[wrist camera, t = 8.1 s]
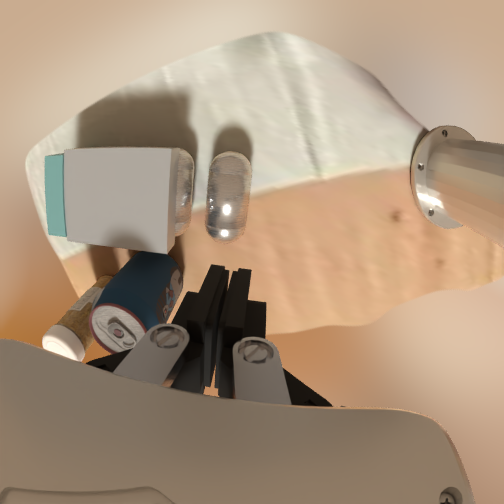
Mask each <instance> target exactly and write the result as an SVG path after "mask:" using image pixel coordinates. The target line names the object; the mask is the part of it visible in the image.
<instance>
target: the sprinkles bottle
mask: <svg viewBox="0 0 504 504" xmlns="http://www.w3.org/2000/svg"><path fill="white" fill-rule="evenodd" d="M112 278H113V277H112V276H108V275H105V276H102V277H100V278H99V279H98V280H97V282H96V283H95V284H94V285H93V286H92V287H91V288H90V289H88V290H87V291H86V292H85V293H84V294H83V296H82V297H81V298H80V299H79V300H78V301H77V302H76V303H75V304H74V305H73V306H72V307H71V308H70V309H69V310H68V311H67V313H66V314H65V315H64V316H63V317H62V319H61V320H60V321H59V322H58V323H57V324H55V325H54V326H52V327H51V328H50V329H49V330H48V331H47V332H46V334H45V335H44V336H43V339H42V344H43V348H44V349H46V350H49V351H51V352H54V353H57V354H60V355H62V356H65V357H68V358H70V359H73V360H76V361H80V362H81V361H82V360H83V358H84V356H85V353H86V351H87V349H88V348H89V346H90V345H91V344H92V342H93V341H94V337H93V335H92V333H91V330H90V327H89V316H90V313H91V312H92V304H93V300H94V298H95V297H96V295H97V294H98V293H99V292H100V291H101V290H102V289H103V288H104V287H105V286H106V284H107V283H108V282H109V281H110V280H111V279H112Z"/></svg>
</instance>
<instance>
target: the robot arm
mask: <svg viewBox="0 0 504 504" xmlns="http://www.w3.org/2000/svg"><path fill="white" fill-rule="evenodd" d="M418 165H419V167H418ZM411 187H412V192H413V196H414V199H415V202H416V204H417V206H418V208H419V210H420V211H421V213H422V214H423V215H424V216H425V217H426V219H427V220H429V221H430V222H432V223H433V224H435V225H437V226H439V227H441V228H445V229H455V228H459V227H462V226H463V225H464V226H466V227H468V228H470V229H471V230H473V231H475V232H477V233H479V234H480V235H482V236H484V237H486V238H487V239H489V240H491V241H493V242H494V243H496V244H498V245H499V246H501V247H503V248H504V144H498V143H491V142H483V141H476V140H475V138H474V137H472V135H471V134H469V133H468V132H467V131H465V130H464V129H462V128H459V127H456V126H439V127H437V128H434V129H432V130H431V131H430V132H428V133H427V134H426V135H425V136H424V137H423V138H422V139H421V141H420V143H419V145H418V146H417V148H416V151H415V154H414V156H413V161H412V166H411ZM251 271H252V270H249V269H241V268H239V269H238V271H233V273H232V277H231V280H230V284H229V288H228V279H229V270H225V266H220V265H212V264H211V266H210V268H209V271H208V273H207V275H206V277H205V280H204V282H203V284H202V286H201V289H200V291H199V293H196V292H190V291H188V292H187V293H186V295H185V297H184V299H183V301H182V303H181V305H180V307H179V309H178V311H177V313H176V315H175V317H174V319H173V321H172V323H171V324H159V325H156V326H154V327H152V328H151V329H149V330H148V331H147V332H146V334H145V335H144V336H143V337H142V338H141V339H140V341H139V342H138V343H137V344H136V345H135V347H134V348H131V349H128V350H125V351H121V352H118V353H115V354H112V355H108V356H105V357H102V358H98V359H95V360H92V361H89V362H88V363H86V364H84V363H81V362H80V361H76V360H73V359H70V358H68V357H65V356H62V355H60V354H57V353H54V352H51V351H49V350H46V349H43V348H41V347H38V346H35V345H33V344H29V343H26V342H23V341H17V340H12V339H0V504H475V501H474V497H473V493H472V490H471V487H470V483H469V480H468V477H467V474H466V472H465V469H464V466H463V464H462V461H461V459H460V456H459V454H458V452H457V450H456V447H455V445H454V444H453V442H452V440H451V438H450V436H449V435H448V433H447V431H446V430H445V429H444V427H443V426H442V425H441V424H440V423H439V422H438V421H436V420H434V419H433V418H431V417H428V416H426V415H423V414H421V413H417V412H413V411H409V410H403V409H394V408H379V407H345V406H341V407H333V406H332V405H331V404H330V403H329V402H328V401H327V400H326V399H324V398H323V397H322V396H320V395H319V394H317V393H316V392H314V391H313V390H312V389H311V388H309V387H308V386H306V385H305V384H304V383H302V382H301V381H299V380H298V379H297V378H296V377H294V376H293V375H292V374H290V373H289V372H288V371H286V370H285V369H284V368H282V364H281V360H280V356H279V352H278V350H277V347H276V346H275V345H274V344H273V343H272V342H270V341H268V340H266V339H265V334H266V302H259V301H251V300H248V294H249V286H250V278H251ZM227 290H228V291H227ZM215 365H216V370H215V388H218V395H219V397H216V396H210V395H204V394H203V393H204V389H205V386H206V387H210V386H211V382H212V377H213V373H214V369H215ZM198 393H199V394H198Z"/></svg>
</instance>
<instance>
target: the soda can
mask: <svg viewBox="0 0 504 504" xmlns="http://www.w3.org/2000/svg"><path fill="white" fill-rule="evenodd" d="M182 288H183V276H182V272H181V270H180V268H179V266H178V264H177V263H176V262H175V261H174V259H172V258H171V257H170V256H169V255H167V254H163V253H155V252H147V251H141V252H139V253H137V254H136V255H134V256H133V257H132V258H131V259H130V260H129V261H128V262H127V263H126V264H125V265H124V267H123V268H122V269H121V270H120V271H119V272H118V273H117V274H116V275H115V276H114V277H113V278H112V279H111V280H110V281H109V282H108V283H107V284H106V286H105V287H104V288H103V289H102V290H101V291H100V292H99V293H98V294H97V295H96V297H95V298H94V300H93V304H92V312H91V313H90V316H89V327H90V330H91V333H92V335H93V337H94V339H95V340H96V341H97V342H98V343H99V345H100V346H102V347H103V348H104V349H105V350H106V351H108V352H110V353H111V354H115V353H118V352H121V351H125V350H128V349H131V348H134V347H135V345H136V344H137V343H138V342H139V341H140V339H141V338H142V337H143V336H144V335H145V334H146V332H147V331H148V330H149V329H151V328H152V327H154V326H156V325H159V324H166V322H167V320H168V318H169V316H170V314H171V312H172V310H173V308H174V306H175V303H176V301H177V299H178V297H179V295H180V293H181V291H182Z"/></svg>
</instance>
